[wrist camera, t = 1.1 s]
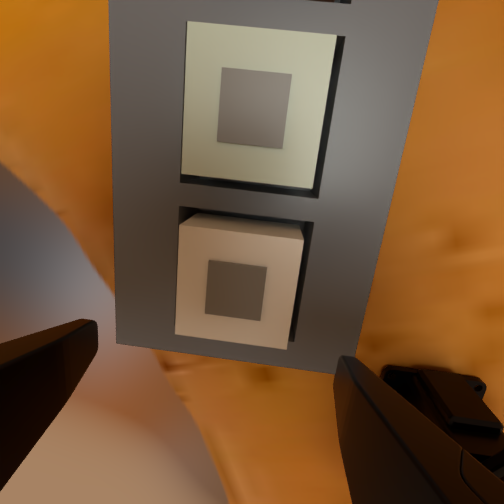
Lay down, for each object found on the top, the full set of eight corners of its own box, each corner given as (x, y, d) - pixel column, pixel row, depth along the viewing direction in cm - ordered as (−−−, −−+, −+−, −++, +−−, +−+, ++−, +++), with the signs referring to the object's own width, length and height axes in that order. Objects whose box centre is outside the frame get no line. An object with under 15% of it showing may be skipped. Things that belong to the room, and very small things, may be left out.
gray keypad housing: (332, 325, 20) (349, 376, 16) (153, 301, 21) (116, 343, 16) (427, -137, 14) (508, -297, 9) (160, -156, 14) (101, -315, 9)
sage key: (305, 183, 15) (312, 189, 12) (200, 171, 15) (180, 174, 12) (324, 62, 13) (337, 33, 10) (206, 51, 13) (186, 19, 10)
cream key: (284, 316, 17) (286, 351, 14) (192, 304, 17) (173, 335, 14) (299, 225, 15) (304, 240, 12) (197, 212, 15) (178, 225, 12)
